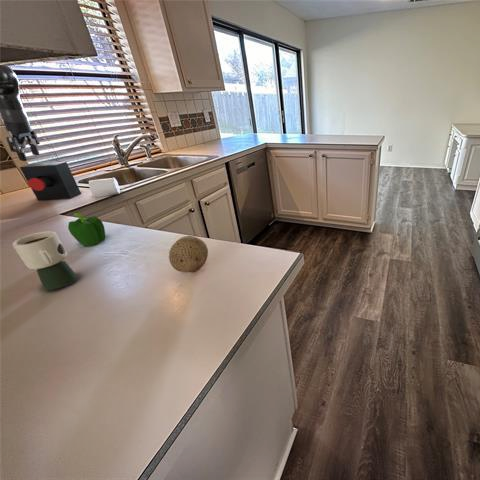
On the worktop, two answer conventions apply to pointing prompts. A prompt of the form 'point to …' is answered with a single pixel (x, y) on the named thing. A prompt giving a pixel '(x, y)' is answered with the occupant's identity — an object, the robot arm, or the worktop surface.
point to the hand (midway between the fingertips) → (30, 157)
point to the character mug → (46, 259)
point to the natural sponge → (188, 254)
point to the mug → (104, 187)
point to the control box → (52, 180)
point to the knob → (39, 183)
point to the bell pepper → (87, 230)
